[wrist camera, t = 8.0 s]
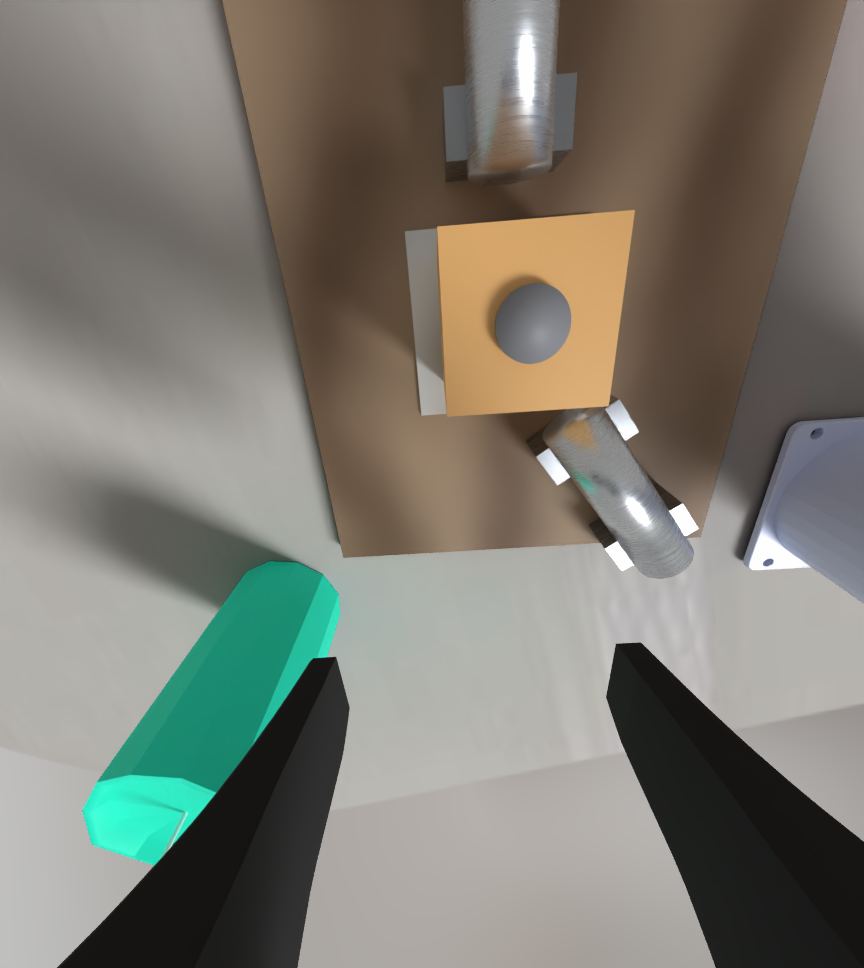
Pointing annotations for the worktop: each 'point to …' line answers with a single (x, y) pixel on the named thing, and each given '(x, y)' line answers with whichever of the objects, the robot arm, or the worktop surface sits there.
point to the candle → (212, 709)
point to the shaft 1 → (508, 95)
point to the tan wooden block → (531, 311)
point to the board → (566, 191)
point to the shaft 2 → (617, 489)
